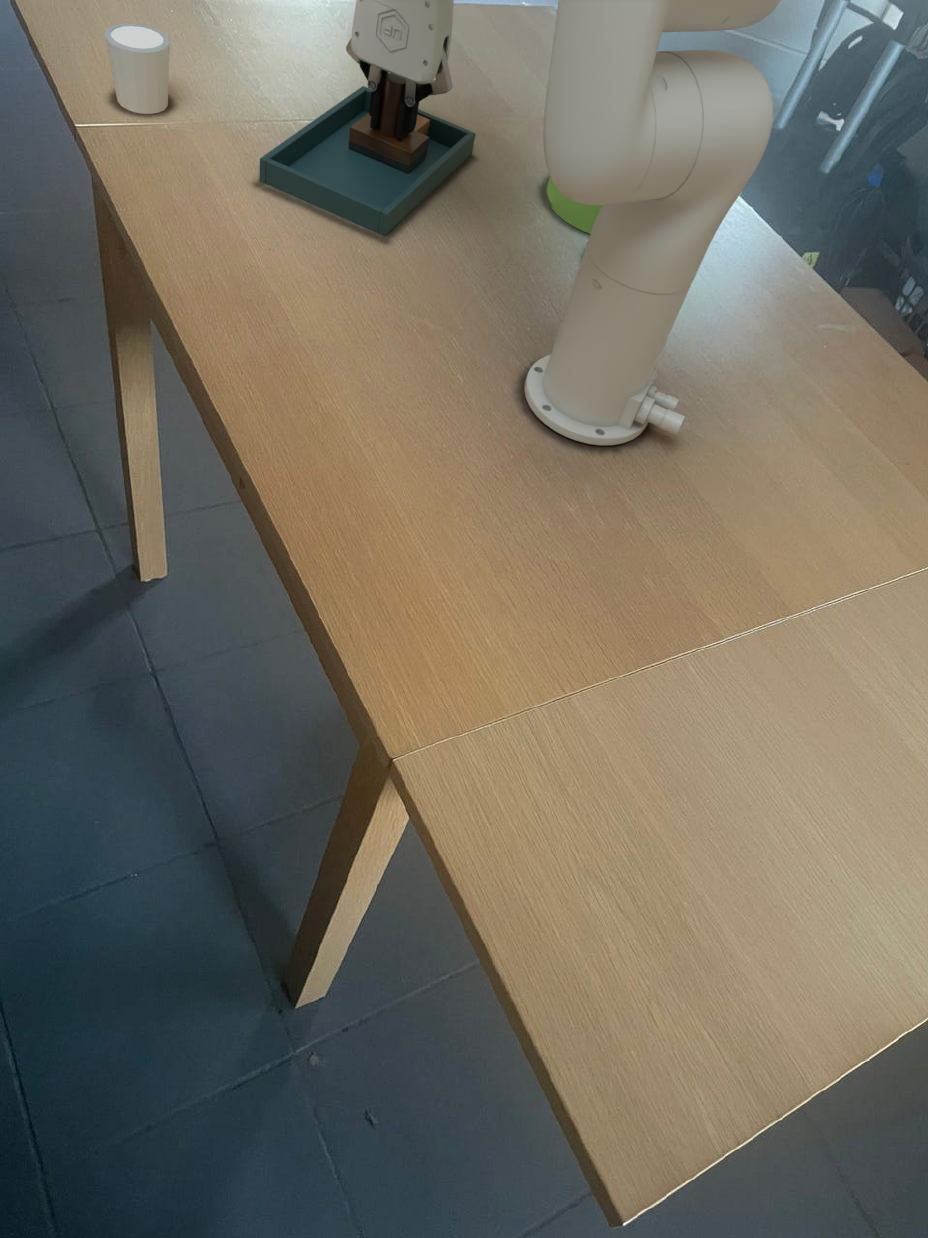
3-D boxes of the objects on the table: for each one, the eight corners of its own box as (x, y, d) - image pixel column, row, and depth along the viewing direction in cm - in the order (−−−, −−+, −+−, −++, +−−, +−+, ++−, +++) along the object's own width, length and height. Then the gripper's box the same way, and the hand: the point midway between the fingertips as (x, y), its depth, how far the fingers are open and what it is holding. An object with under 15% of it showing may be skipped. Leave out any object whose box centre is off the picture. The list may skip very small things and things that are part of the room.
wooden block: (427, 139, 114) (430, 119, 112) (412, 151, 111) (415, 131, 109) (398, 127, 114) (401, 106, 112) (383, 139, 112) (385, 118, 110)
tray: (471, 157, 114) (476, 133, 112) (384, 239, 100) (387, 214, 97) (360, 110, 116) (362, 85, 113) (259, 184, 101) (259, 157, 99)
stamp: (426, 157, 111) (438, 83, 104) (408, 173, 108) (419, 98, 101) (367, 132, 112) (375, 57, 105) (348, 147, 109) (354, 72, 102)
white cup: (105, 86, 107) (97, 21, 102) (165, 86, 110) (161, 22, 105) (119, 117, 104) (112, 50, 99) (180, 115, 107) (177, 51, 101)
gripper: (325, -72, 92) (314, 115, 106) (470, -14, 90) (439, 168, 105) (360, -89, 96) (345, 93, 111) (499, -34, 95) (465, 144, 109)
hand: (391, 128), depth 108 cm, fingers closed on stamp, 2 cm apart
